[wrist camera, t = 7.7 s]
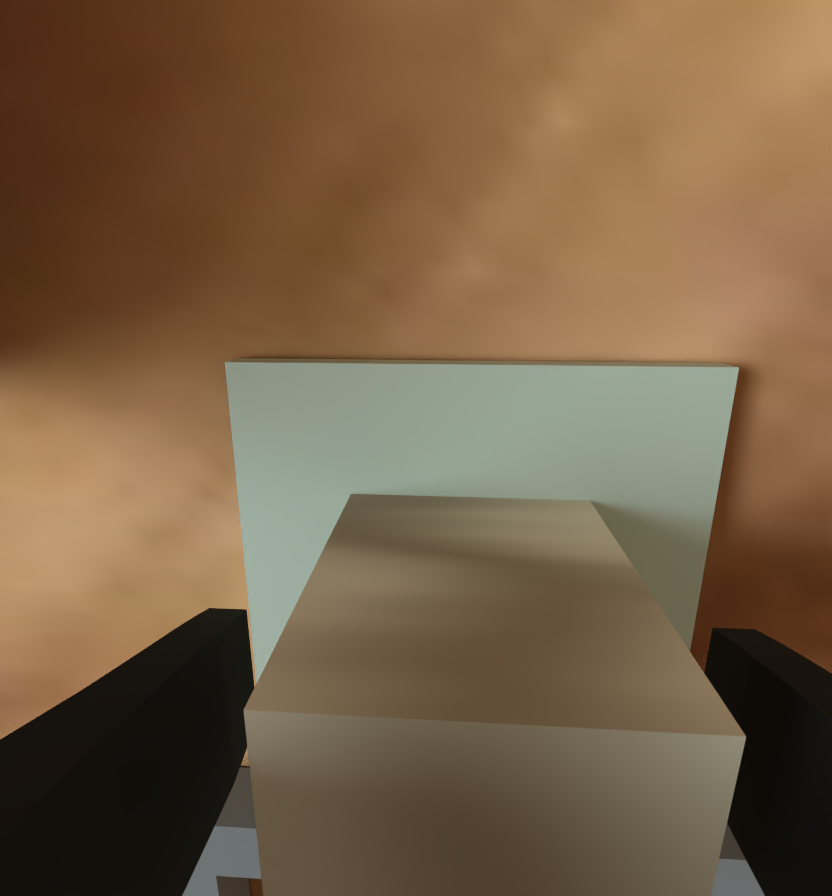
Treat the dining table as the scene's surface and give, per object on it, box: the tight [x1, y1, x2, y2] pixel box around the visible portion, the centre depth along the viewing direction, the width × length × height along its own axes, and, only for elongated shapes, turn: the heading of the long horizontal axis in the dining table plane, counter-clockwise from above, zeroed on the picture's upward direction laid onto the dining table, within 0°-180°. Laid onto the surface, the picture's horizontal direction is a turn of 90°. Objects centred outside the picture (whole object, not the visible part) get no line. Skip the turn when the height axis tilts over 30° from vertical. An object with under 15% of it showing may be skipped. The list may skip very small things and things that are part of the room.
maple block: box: [244, 494, 746, 896], centre depth 8 cm, size 4×4×6 cm
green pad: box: [225, 358, 739, 683], centre depth 11 cm, size 9×9×1 cm
